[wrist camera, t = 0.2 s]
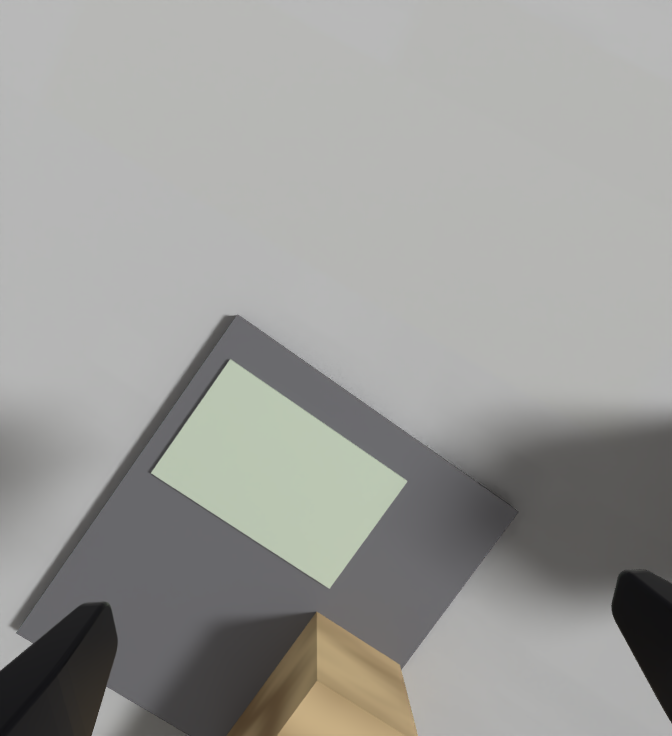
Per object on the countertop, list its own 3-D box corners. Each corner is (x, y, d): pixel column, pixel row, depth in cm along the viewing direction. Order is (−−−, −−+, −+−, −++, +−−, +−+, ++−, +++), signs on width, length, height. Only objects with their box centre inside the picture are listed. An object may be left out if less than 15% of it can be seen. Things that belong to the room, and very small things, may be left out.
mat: (303, 790, 24) (302, 806, 23) (23, 625, 22) (13, 635, 22) (513, 507, 23) (520, 513, 22) (239, 315, 22) (236, 314, 21)
